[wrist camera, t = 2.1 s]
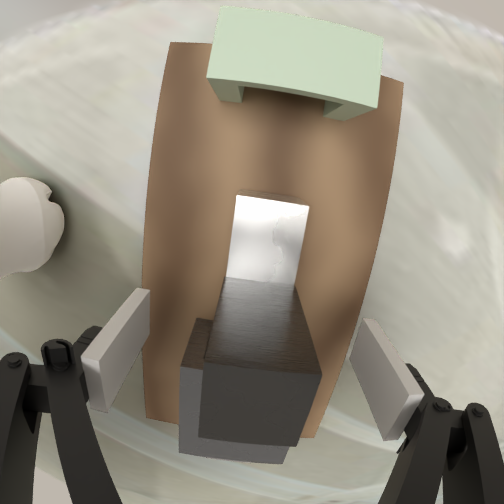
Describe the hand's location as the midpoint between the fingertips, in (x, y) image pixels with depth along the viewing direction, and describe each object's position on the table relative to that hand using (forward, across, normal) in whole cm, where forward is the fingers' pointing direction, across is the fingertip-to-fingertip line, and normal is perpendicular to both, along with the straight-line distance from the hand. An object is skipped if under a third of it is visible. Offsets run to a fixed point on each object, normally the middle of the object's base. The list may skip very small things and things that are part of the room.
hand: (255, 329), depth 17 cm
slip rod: (+6, 0, -4) cm, 7 cm away
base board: (+7, 0, 0) cm, 7 cm away
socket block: (+7, 0, +14) cm, 16 cm away
